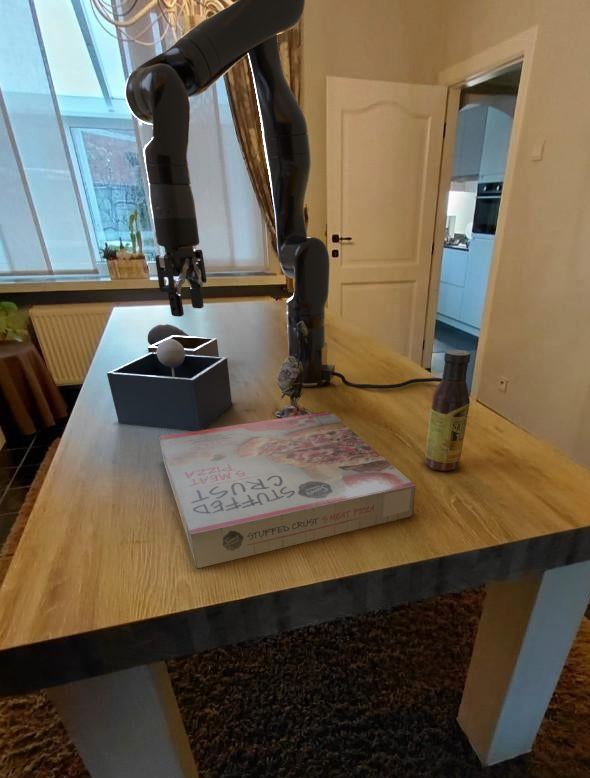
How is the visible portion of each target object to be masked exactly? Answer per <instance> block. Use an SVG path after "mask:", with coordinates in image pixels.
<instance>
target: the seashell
mask: <svg viewBox="0 0 590 778" xmlns="http://www.w3.org/2000/svg"><path fill="white" fill-rule="evenodd" d="M171 336H187V337H191V336H190V335H189V334H187V333H186V332H185V331H184V330H183V329H180V328H179V327H177V326H175V325H172V324H168V323H167V324H157V325H155V326H154V327H152V328H151V329H150V330H149V331H148V334H147V343H148V344H149V346H151V345H153V344H156V343H158V342H160V341H162V340H164V339H166V338H169V337H171Z"/></svg>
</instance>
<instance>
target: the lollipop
mask: <svg viewBox="0 0 590 778" xmlns="http://www.w3.org/2000/svg"><path fill="white" fill-rule="evenodd" d="M156 354H157V357H158V359H159V361H160V362H161V363H162V364H163V365H165V366H167V367H171V368H172V375H173V377H175V374H174V367H177V366H179V365H181V364H182V363H183V361H184V359H185V350H184V348H183V346H182V345H181V344H180V343H179V342H178V341H176V340H173V339H167V340H164V341H162V342H161V343H160V344H159V345H158V347H157V350H156Z"/></svg>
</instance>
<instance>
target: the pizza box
mask: <svg viewBox="0 0 590 778" xmlns="http://www.w3.org/2000/svg"><path fill="white" fill-rule="evenodd" d="M158 439H159V444H160V449H161V454H162V460H163V464H164V467H165V471H166V474H167V477H168V481H169V484H170V486H171V490H172V493H173V497H174V500H175V503H176V506H177V511H178V513H179V516H180V519H181V524H182V526H183V529H184V532H185V535H186V539H187V542H188V545H189V548H190V552H191V555H192V558H193V562H194V565H195V568H196V569H201V568H206V567H209V566H214V565H218V564H222V563H225V562H231V561H234V560H238V559H243V558H246V557H251V556H254V555H258V554H263V553H267V552H271V551H276V550H279V549H283V548H284V549H285V548H288V547H292V546H296V545H300V544H304V543H308V542H313V541H316V540H321V539H325V538H329V537H333V536H337V535H341V534H345V533H350V532H353V531H358V530H363V529H367V528H370V527H374V526H379V525H383V524H386V523H391V522H395V521H398V520H403V519H408V518H411V517H413V513H414V504H415V496H416V487H417V485H416V484H414V482H413V481H412V480H411V479H409V478H408V477H407V476H405V474H404V473H402V472H401V471H400V470H399V469H397V468H396V466H394V465H393V464H392V463H390V462H389V461H388V460H387V459H386V458H384V457H383V455H381V454H380V453H379V452H378V451H377V450H375V449H374V448H373V447H372V446H371V445H370V444H369V443H367V442H366V441H365V440H364V439H363V438H362V437H360V436H359V435H358V434H357V433H356V432H354V430H352V429H351V428H350V427H349V426H348V425H347V424H345V423H344V422H343V421H341V419H340V418H338V416H336V415H335V414H334V413H332V412H331V410H329V411H328V410H327V411H321V412H315V413H314V412H313V413H311V414H307V415H300V416H293V417H287V418H283V417H279V418H273V419H266V420H261V421H254V422H247V423H241V424H234V425H227V426H226V425H225V426H220V427H219V426H218V427H212V428H207V429H202V430H199V431H192V430H191V431H186V432H179V433H173V434H165V435H160V436H158Z"/></svg>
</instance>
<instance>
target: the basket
mask: <svg viewBox="0 0 590 778" xmlns="http://www.w3.org/2000/svg"><path fill="white" fill-rule="evenodd" d="M167 339H173V340H176V341H178V342H179V343H180V344H181V345H182V346H183V348H184V350H185V355H196V356H210V357H220V353H219V344H218V338H216V337H201V336H190V337H187V336H171V337H169V338H166V339H164V340H167ZM164 340H162V341H164ZM162 341H160V342H158V343H156V344H153V345H149V346H147V352H148V353H150V352H154V353H156V350H157V347H158V345H159V344H160V343H161V342H162Z"/></svg>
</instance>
